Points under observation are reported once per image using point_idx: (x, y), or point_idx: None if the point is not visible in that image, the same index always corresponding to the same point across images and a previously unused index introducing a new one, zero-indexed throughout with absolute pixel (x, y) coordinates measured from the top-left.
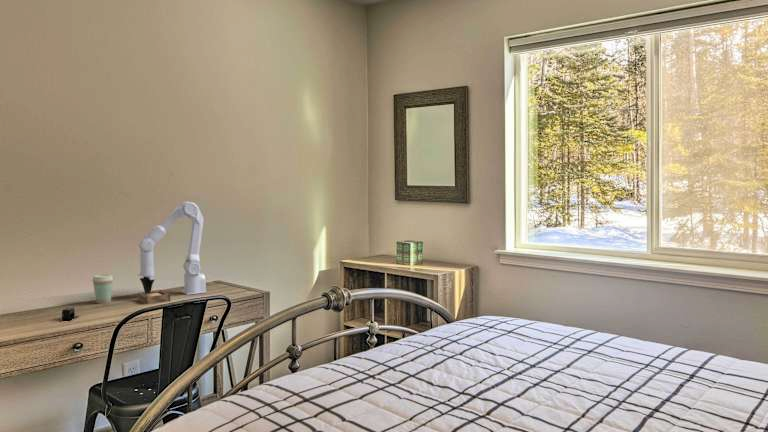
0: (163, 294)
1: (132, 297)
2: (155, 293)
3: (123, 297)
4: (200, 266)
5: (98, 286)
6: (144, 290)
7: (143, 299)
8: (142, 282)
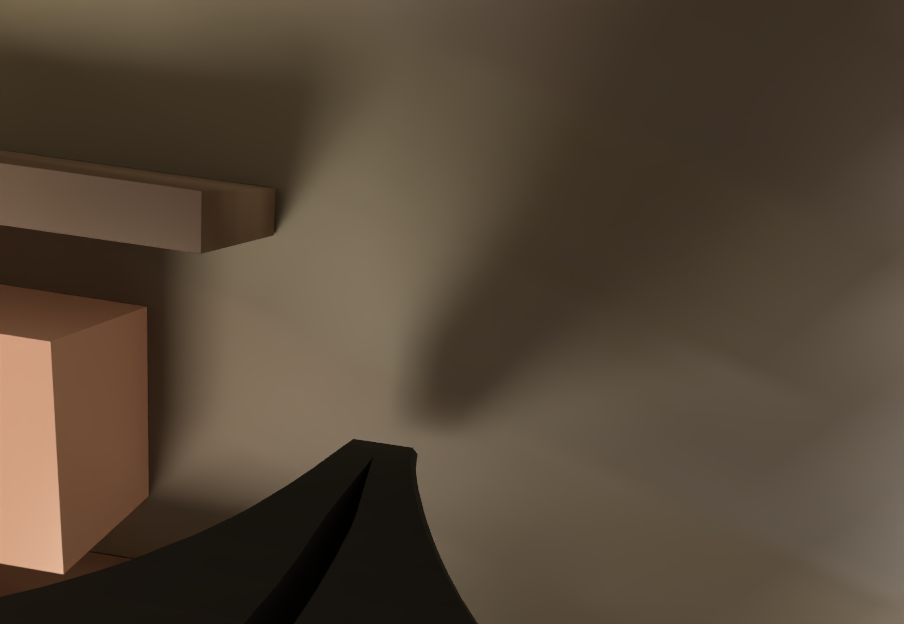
0: None
1: (595, 216)
2: (24, 516)
3: (759, 60)
4: None
5: None
6: (386, 465)
7: None
8: (341, 605)
